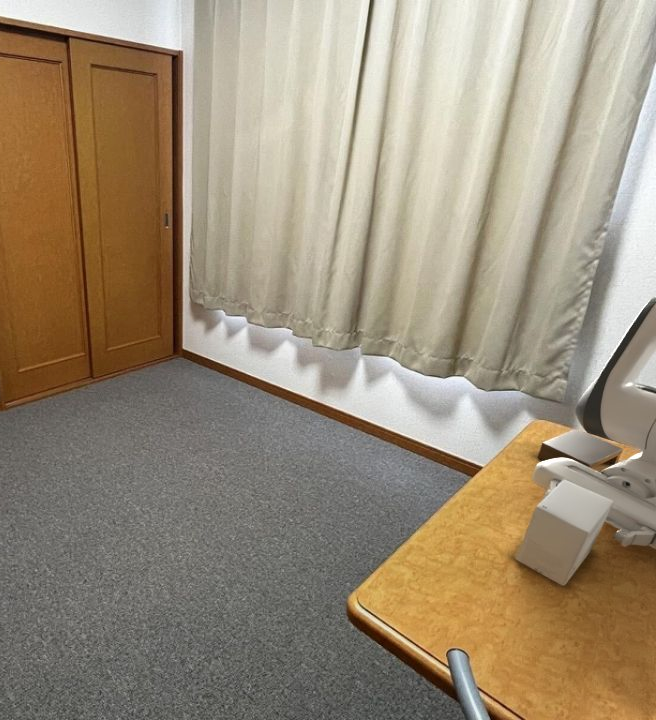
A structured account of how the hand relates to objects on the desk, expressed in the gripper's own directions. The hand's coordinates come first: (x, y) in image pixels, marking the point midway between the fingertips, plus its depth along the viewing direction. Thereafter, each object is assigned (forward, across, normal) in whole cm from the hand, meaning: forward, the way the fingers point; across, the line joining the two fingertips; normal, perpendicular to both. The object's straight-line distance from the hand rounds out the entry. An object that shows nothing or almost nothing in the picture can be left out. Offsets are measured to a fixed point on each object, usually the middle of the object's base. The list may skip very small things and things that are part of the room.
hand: (581, 518), depth 70 cm
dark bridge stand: (-24, -12, +6) cm, 28 cm away
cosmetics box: (+5, 0, +6) cm, 8 cm away
